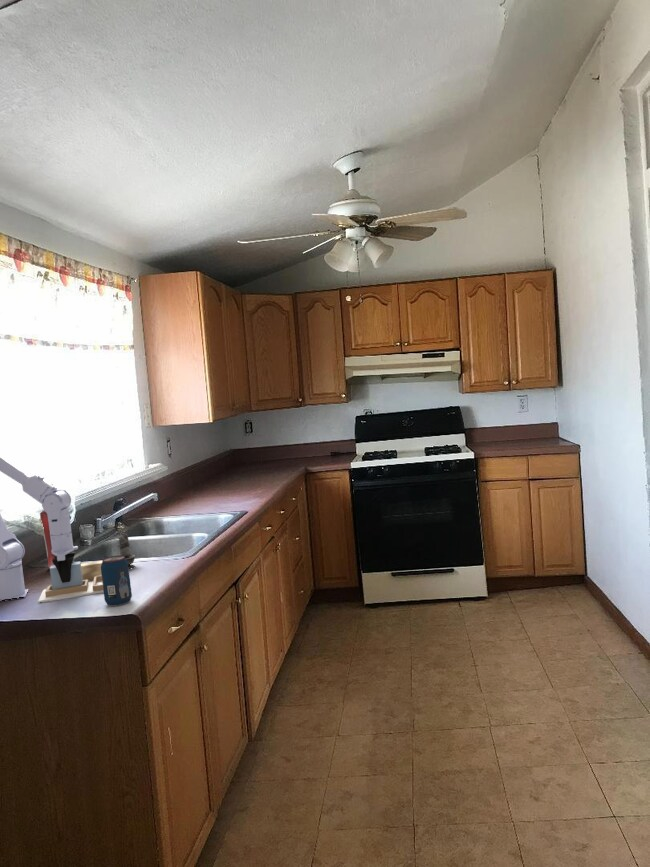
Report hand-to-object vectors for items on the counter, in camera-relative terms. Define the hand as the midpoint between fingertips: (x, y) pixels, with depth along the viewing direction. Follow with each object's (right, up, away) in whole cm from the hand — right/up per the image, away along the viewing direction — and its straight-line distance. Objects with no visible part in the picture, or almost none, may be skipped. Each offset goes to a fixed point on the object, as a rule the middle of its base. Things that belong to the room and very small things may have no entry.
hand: (66, 580), depth 203 cm
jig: (+3, -3, +1) cm, 5 cm away
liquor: (-15, -3, +33) cm, 37 cm away
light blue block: (0, -2, 0) cm, 2 cm away
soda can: (+19, -3, -15) cm, 25 cm away
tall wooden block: (+3, -3, +13) cm, 14 cm away
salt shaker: (+11, -1, +24) cm, 26 cm away
